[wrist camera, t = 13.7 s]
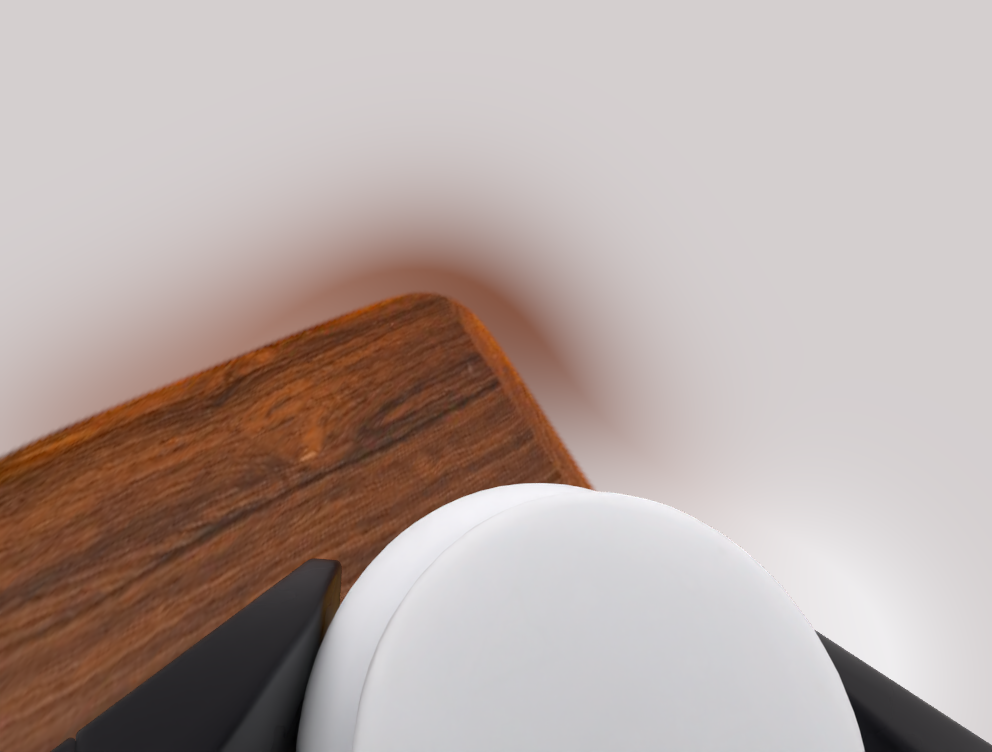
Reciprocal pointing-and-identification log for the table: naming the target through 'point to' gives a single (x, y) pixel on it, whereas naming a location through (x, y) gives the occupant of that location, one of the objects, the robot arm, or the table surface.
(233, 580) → the table surface
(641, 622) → the supplement bottle
